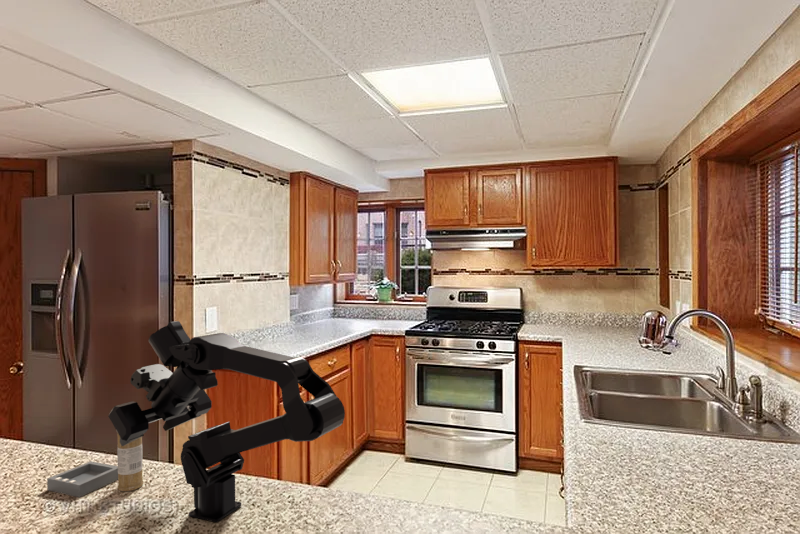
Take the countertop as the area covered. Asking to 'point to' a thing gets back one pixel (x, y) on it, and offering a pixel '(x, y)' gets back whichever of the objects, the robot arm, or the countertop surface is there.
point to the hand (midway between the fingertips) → (144, 436)
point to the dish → (83, 479)
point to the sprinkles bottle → (129, 465)
